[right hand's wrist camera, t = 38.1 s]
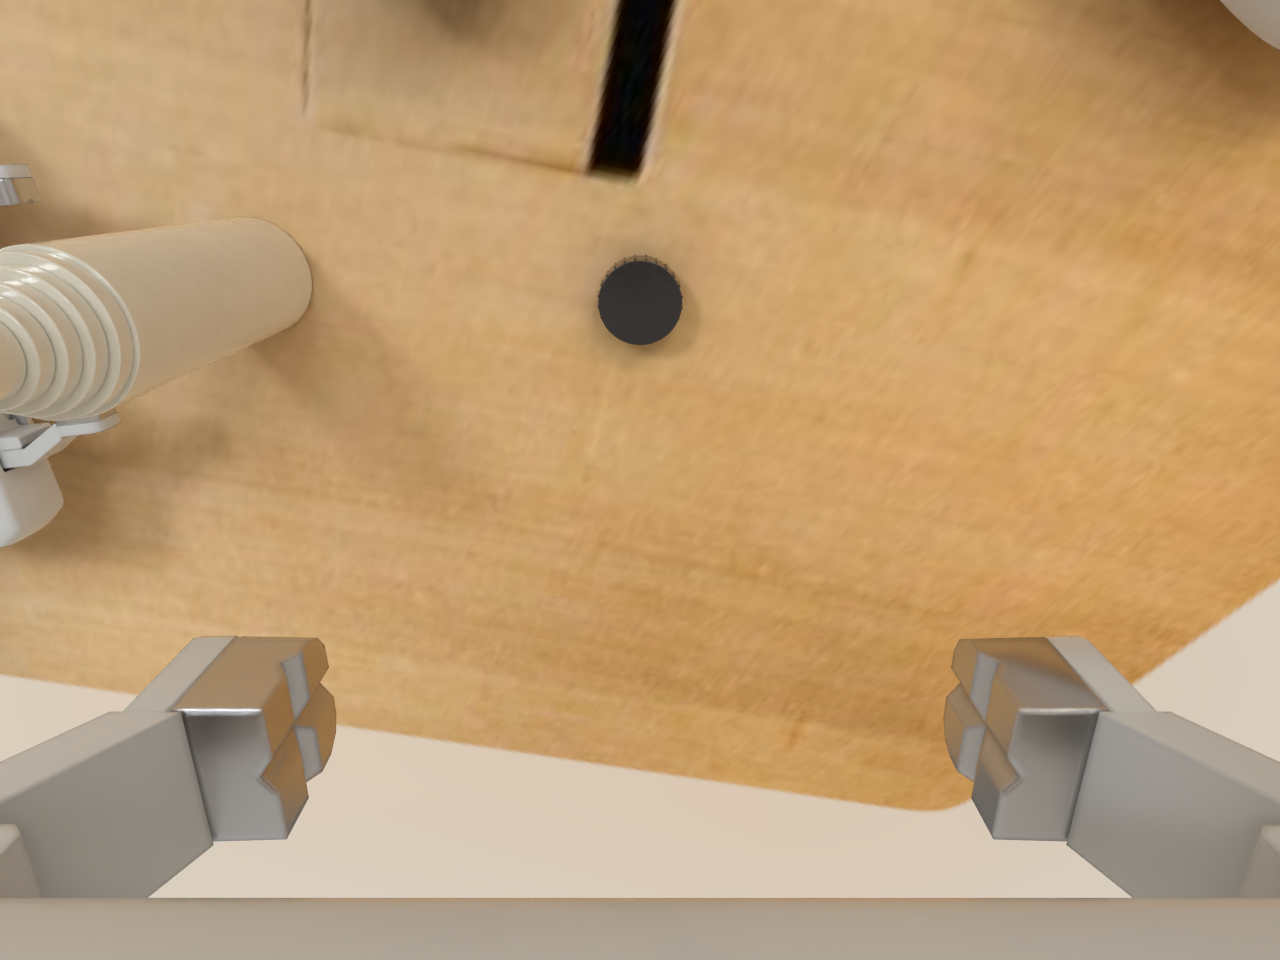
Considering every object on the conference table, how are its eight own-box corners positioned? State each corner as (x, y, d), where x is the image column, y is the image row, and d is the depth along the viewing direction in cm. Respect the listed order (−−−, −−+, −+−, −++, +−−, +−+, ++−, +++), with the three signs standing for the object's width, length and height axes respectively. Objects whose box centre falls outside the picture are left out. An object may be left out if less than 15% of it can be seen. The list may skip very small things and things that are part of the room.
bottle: (294, 209, 38) (-50, 251, 19) (325, 326, 39) (42, 470, 21) (180, 224, 38) (-273, 281, 19) (217, 340, 40) (-160, 495, 21)
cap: (599, 254, 38) (597, 259, 36) (681, 255, 38) (684, 260, 36) (599, 336, 40) (597, 345, 38) (679, 337, 40) (681, 346, 38)
